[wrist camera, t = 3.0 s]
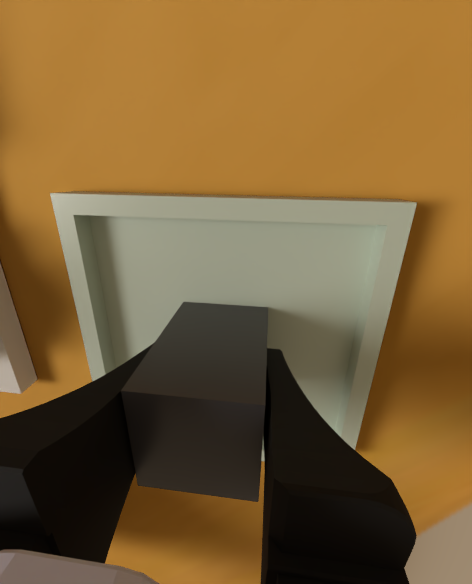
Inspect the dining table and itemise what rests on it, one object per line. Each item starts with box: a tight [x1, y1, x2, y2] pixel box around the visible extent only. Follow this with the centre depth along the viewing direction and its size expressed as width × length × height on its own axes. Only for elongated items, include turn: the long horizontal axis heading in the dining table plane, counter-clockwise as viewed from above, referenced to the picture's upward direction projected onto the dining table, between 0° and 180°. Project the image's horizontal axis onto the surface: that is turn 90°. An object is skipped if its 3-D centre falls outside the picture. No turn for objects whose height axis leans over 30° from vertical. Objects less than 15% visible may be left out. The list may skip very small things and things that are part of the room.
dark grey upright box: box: [121, 302, 268, 502], centre depth 11 cm, size 4×4×6 cm
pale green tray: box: [50, 191, 417, 461], centre depth 14 cm, size 14×14×1 cm
